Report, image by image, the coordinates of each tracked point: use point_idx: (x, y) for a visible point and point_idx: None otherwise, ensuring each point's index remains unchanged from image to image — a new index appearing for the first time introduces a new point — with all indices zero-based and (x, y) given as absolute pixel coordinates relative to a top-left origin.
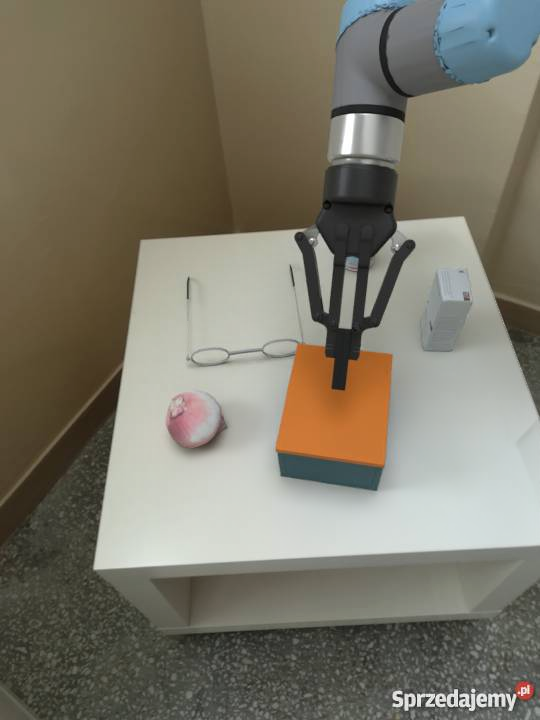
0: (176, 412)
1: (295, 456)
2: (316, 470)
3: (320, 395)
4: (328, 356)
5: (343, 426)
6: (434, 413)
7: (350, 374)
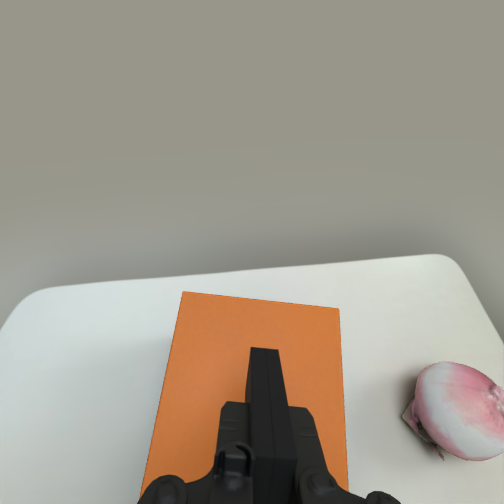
0: (500, 388)
1: None
2: None
3: None
4: (300, 409)
5: (241, 352)
6: (79, 473)
7: None
